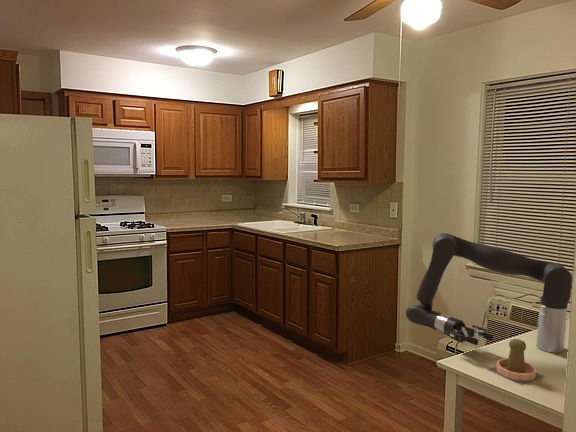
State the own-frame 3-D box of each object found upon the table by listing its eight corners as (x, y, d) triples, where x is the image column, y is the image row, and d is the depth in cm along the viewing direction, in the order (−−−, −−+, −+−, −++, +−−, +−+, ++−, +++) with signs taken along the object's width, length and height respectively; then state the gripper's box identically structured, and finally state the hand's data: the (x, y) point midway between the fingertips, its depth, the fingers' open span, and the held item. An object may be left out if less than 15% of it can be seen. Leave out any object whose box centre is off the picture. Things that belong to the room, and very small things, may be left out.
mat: (510, 362, 173) (510, 361, 173) (544, 377, 162) (545, 376, 162) (486, 370, 166) (487, 369, 166) (521, 386, 155) (521, 385, 155)
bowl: (510, 362, 172) (511, 355, 172) (543, 376, 162) (543, 369, 162) (488, 369, 166) (489, 363, 166) (521, 384, 156) (521, 377, 156)
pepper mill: (527, 376, 161) (530, 344, 159) (508, 374, 162) (510, 343, 160) (522, 368, 167) (525, 337, 165) (503, 366, 168) (506, 336, 166)
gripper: (437, 319, 183) (473, 334, 170) (462, 313, 191) (498, 327, 177) (436, 338, 185) (471, 354, 171) (461, 331, 192) (496, 346, 178)
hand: (485, 340), depth 174 cm, fingers open, 8 cm apart
